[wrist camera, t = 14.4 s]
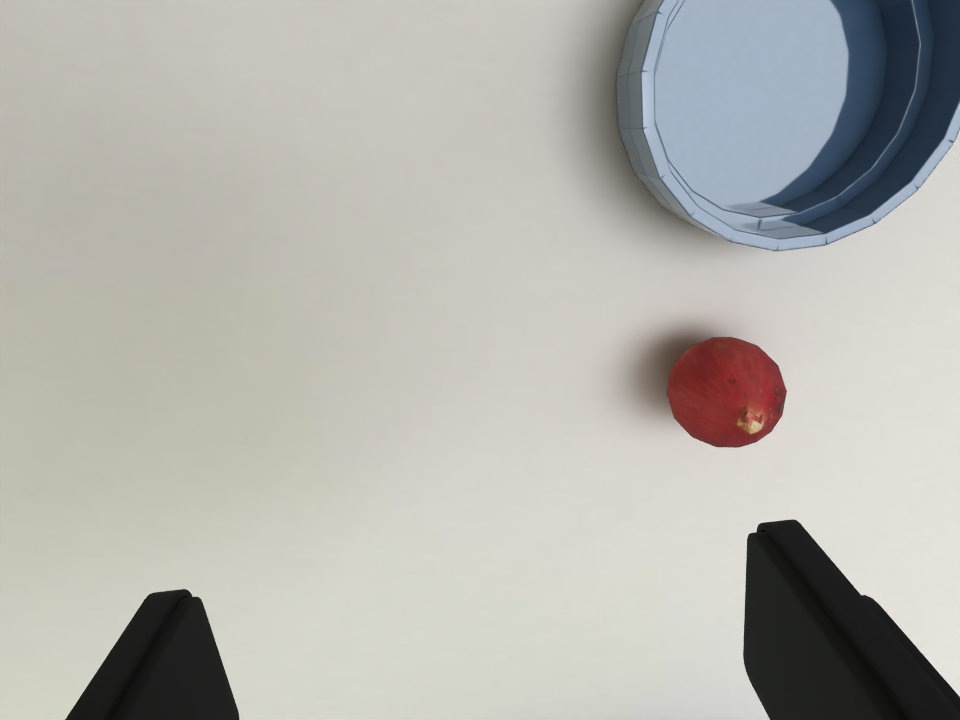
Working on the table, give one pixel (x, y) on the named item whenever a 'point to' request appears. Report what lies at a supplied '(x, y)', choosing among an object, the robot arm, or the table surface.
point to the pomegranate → (726, 392)
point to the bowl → (788, 111)
